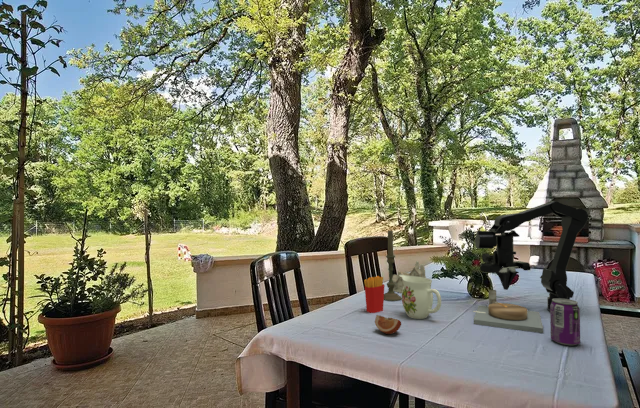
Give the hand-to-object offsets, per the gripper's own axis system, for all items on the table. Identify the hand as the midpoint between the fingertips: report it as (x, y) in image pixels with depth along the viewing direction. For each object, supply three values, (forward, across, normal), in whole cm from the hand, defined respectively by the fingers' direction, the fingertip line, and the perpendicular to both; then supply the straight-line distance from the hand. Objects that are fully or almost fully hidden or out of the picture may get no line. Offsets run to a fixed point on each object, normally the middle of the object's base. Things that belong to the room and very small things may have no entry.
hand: (505, 289), depth 137 cm
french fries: (+8, +48, -15) cm, 51 cm away
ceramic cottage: (+8, +16, -41) cm, 45 cm away
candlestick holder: (+8, +33, -30) cm, 45 cm away
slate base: (+8, +9, +10) cm, 15 cm away
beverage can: (+8, +9, +32) cm, 34 cm away
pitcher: (+8, +36, -3) cm, 37 cm away
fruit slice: (+8, +54, +8) cm, 55 cm away
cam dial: (+6, +8, +7) cm, 12 cm away
